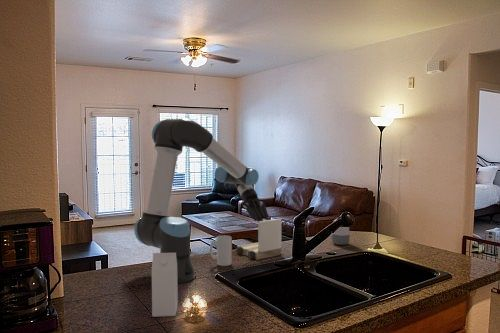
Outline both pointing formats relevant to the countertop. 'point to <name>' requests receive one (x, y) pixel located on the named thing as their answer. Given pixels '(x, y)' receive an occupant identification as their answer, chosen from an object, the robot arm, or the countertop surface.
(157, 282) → the milk carton
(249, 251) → the flatbed
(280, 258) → the countertop surface
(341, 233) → the smart speaker
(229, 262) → the mug
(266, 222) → the panel
